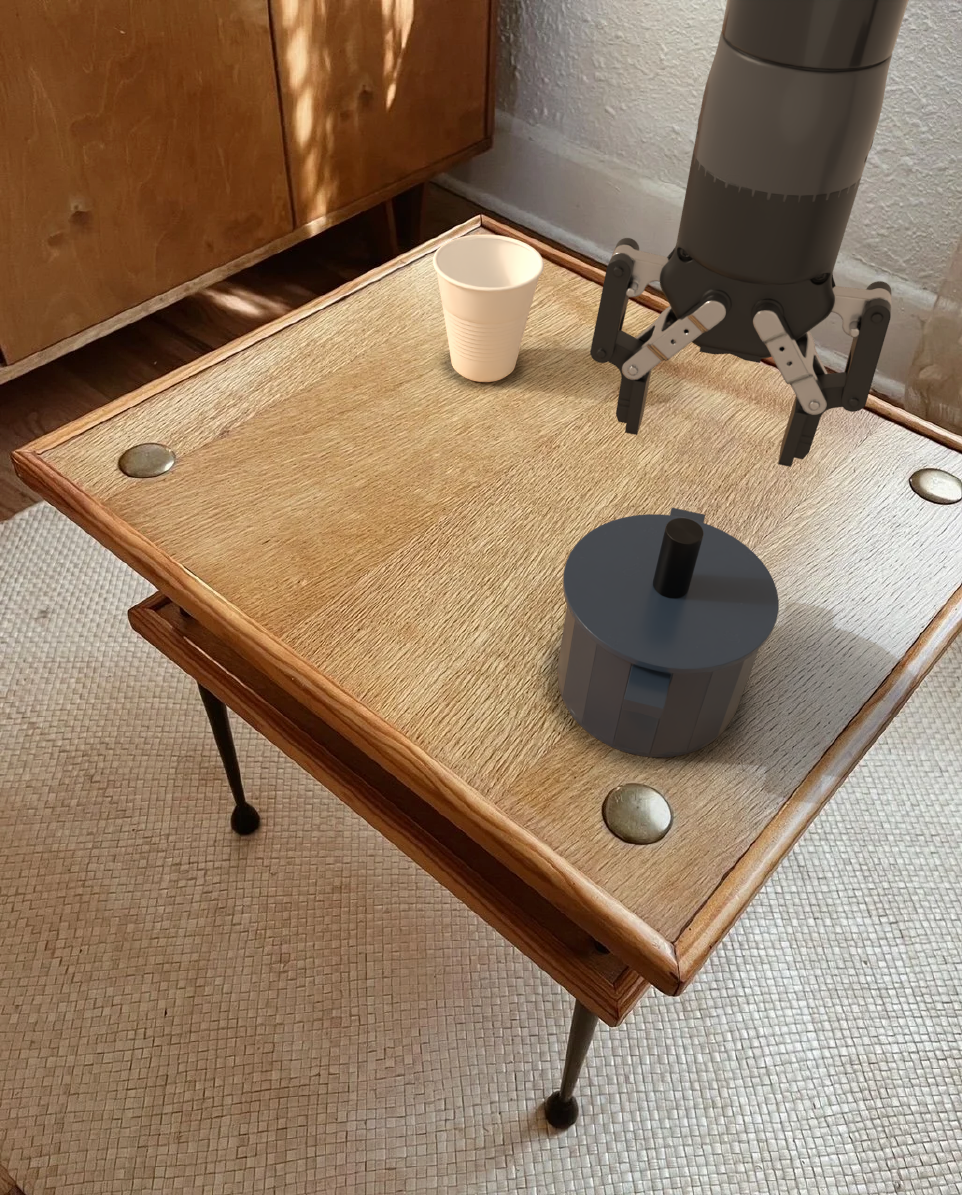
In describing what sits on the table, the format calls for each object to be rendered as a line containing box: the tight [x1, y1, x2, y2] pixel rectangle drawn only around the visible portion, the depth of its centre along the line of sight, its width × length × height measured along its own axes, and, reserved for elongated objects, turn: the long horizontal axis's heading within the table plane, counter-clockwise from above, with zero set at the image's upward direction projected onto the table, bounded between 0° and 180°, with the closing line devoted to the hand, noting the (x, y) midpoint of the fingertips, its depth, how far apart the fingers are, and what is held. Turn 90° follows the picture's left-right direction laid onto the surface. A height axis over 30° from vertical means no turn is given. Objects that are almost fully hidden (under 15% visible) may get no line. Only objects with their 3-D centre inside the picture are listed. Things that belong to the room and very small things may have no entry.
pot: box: [556, 507, 760, 758], centre depth 69 cm, size 13×18×10 cm
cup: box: [432, 234, 545, 383], centre depth 95 cm, size 10×10×11 cm
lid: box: [562, 513, 780, 674], centre depth 64 cm, size 14×14×6 cm
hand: (709, 441), depth 57 cm, fingers open, 8 cm apart
